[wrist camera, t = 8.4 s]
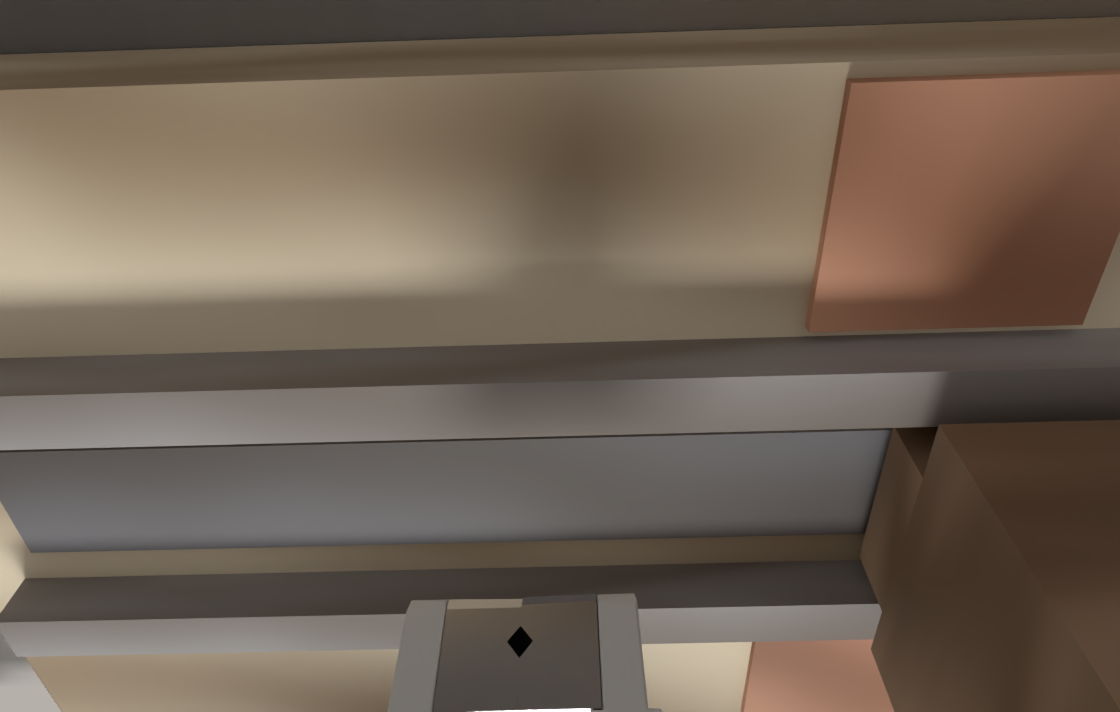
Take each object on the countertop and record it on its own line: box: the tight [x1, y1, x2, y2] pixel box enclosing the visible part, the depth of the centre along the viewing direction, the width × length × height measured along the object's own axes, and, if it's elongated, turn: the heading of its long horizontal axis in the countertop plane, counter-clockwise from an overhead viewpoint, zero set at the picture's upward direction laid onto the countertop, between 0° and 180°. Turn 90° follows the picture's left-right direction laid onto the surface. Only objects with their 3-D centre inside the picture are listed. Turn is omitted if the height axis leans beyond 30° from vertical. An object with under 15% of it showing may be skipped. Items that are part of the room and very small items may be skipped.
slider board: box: [0, 17, 1120, 712], centre depth 14 cm, size 14×24×3 cm, turn 92°
